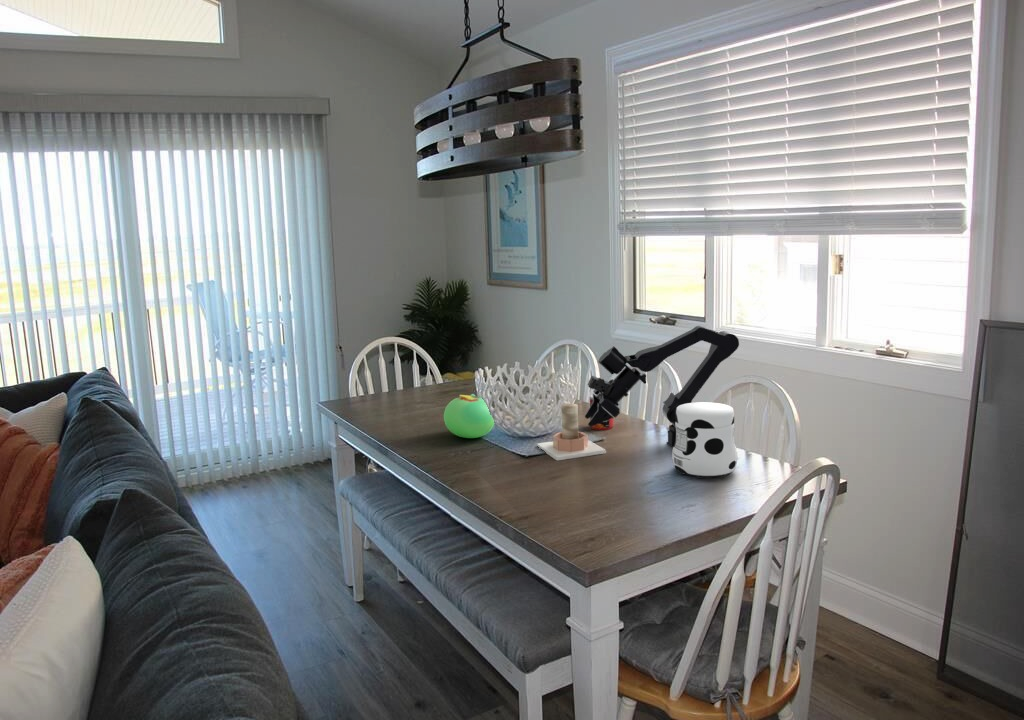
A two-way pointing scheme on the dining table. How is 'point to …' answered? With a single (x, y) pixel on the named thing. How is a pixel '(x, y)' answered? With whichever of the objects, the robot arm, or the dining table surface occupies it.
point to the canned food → (603, 425)
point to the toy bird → (468, 417)
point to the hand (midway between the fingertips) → (587, 421)
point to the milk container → (704, 440)
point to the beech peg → (570, 421)
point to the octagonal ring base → (570, 447)
